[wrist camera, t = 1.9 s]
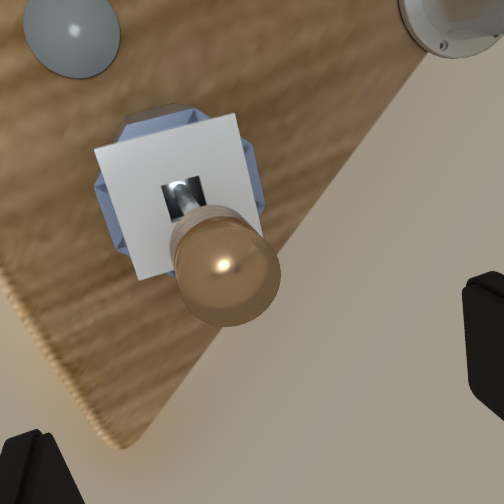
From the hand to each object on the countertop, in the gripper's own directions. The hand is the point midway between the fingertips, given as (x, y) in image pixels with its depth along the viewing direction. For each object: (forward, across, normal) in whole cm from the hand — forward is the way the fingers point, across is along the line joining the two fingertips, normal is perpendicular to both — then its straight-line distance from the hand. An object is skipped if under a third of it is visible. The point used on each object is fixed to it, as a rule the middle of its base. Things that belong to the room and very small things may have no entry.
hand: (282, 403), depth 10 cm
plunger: (+24, -1, 0) cm, 24 cm away
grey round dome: (+35, +3, -12) cm, 37 cm away
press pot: (+35, -1, +1) cm, 35 cm away
